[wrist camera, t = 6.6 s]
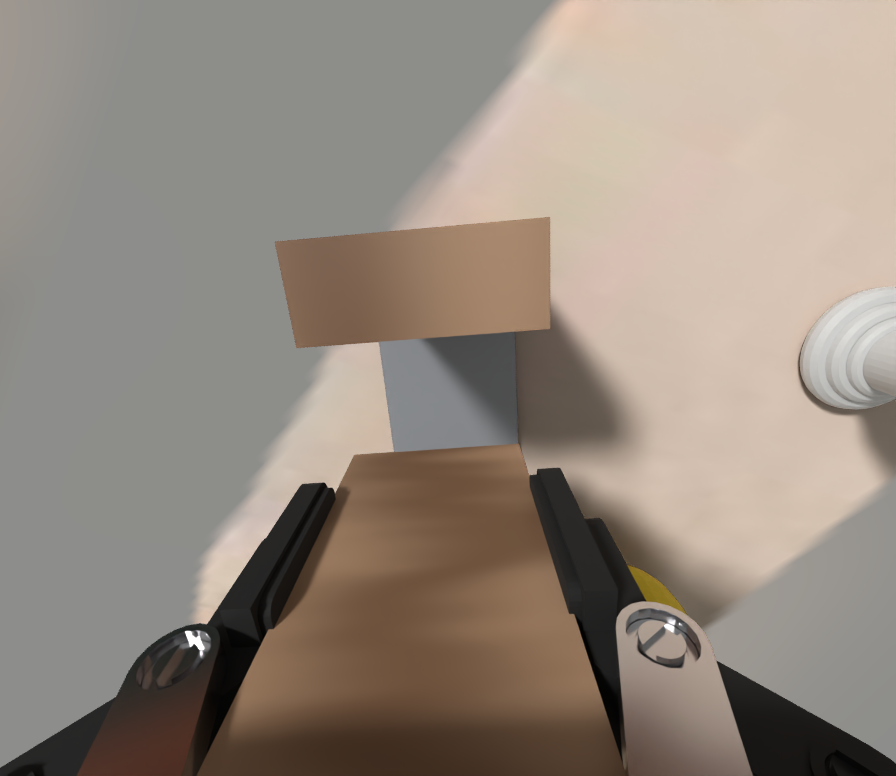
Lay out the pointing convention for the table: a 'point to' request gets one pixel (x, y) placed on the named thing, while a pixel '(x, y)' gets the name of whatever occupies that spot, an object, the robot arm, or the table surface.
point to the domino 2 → (423, 637)
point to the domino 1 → (418, 283)
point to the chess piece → (853, 351)
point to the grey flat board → (451, 391)
